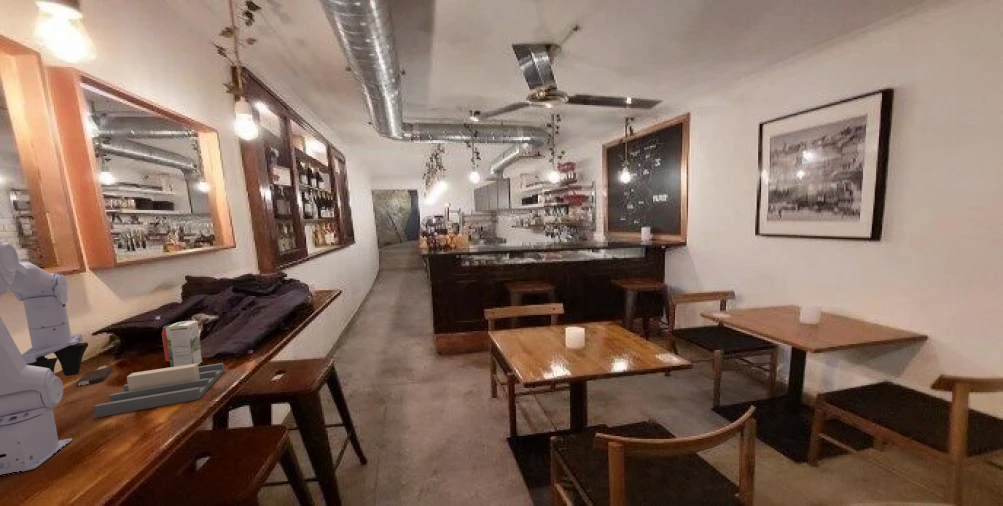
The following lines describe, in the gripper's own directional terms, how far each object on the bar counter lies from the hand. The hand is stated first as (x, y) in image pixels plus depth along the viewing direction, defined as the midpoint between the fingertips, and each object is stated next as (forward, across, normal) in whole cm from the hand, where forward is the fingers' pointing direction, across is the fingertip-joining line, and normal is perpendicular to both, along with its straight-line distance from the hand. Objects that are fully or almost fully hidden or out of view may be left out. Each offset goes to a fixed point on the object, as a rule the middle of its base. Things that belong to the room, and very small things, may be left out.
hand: (59, 381), depth 82 cm
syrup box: (+10, +24, -14) cm, 29 cm away
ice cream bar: (+10, +30, +10) cm, 33 cm away
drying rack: (+9, +7, -16) cm, 20 cm away
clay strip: (+8, +7, -16) cm, 19 cm away
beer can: (+10, +34, -8) cm, 36 cm away
